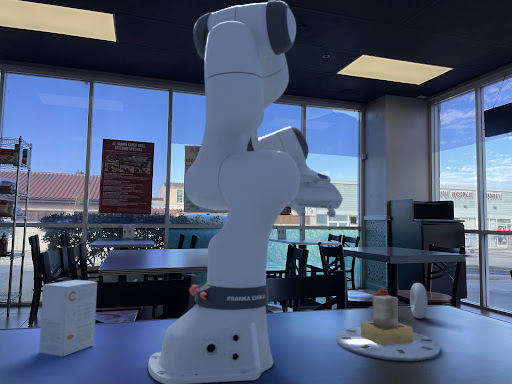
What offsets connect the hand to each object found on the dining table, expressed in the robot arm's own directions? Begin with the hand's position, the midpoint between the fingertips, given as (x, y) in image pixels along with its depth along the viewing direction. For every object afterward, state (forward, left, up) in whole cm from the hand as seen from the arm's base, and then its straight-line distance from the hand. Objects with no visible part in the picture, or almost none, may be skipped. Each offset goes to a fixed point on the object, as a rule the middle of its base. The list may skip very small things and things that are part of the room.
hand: (317, 214), depth 105 cm
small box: (-59, -3, -29) cm, 66 cm away
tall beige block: (+5, -21, -27) cm, 35 cm away
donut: (+32, -3, -29) cm, 43 cm away
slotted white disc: (+5, -21, -29) cm, 36 cm away
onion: (+25, +4, -29) cm, 38 cm away
